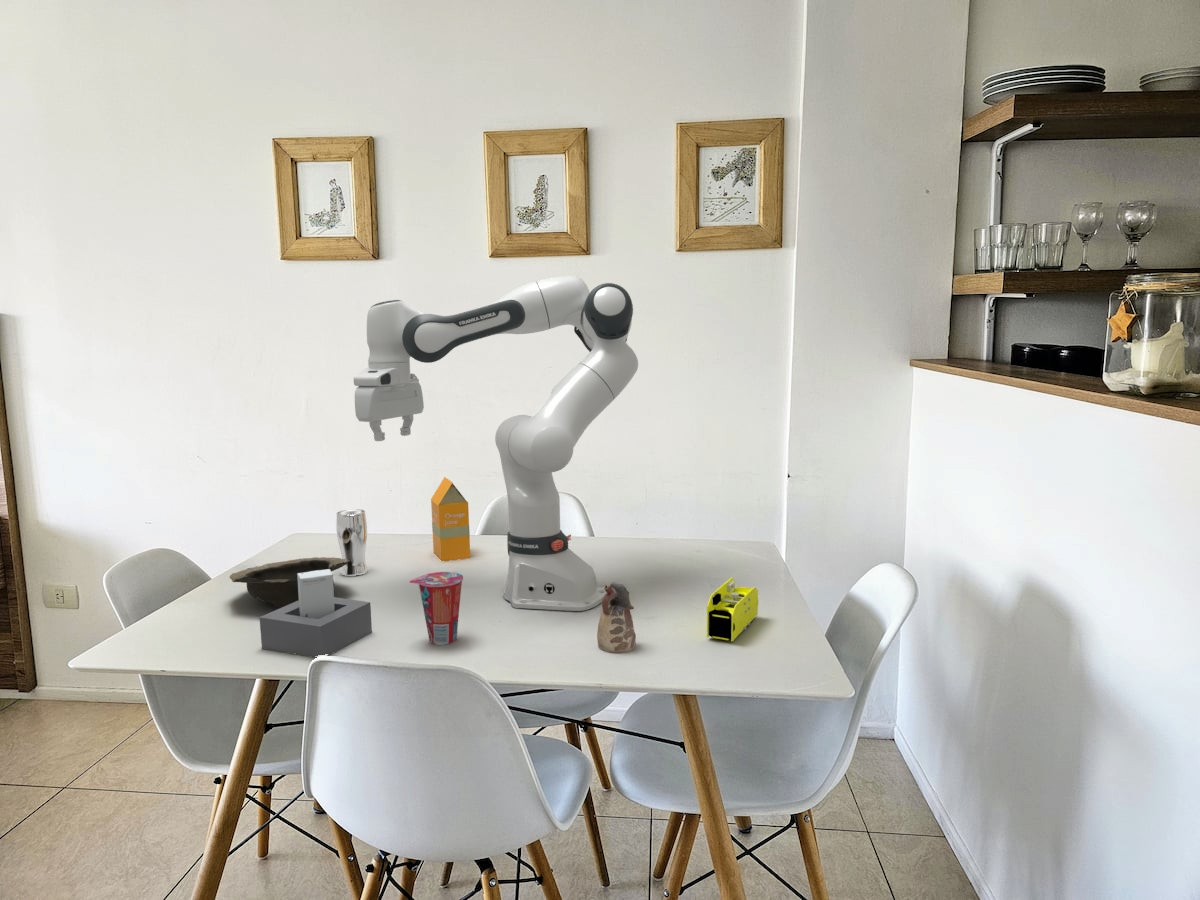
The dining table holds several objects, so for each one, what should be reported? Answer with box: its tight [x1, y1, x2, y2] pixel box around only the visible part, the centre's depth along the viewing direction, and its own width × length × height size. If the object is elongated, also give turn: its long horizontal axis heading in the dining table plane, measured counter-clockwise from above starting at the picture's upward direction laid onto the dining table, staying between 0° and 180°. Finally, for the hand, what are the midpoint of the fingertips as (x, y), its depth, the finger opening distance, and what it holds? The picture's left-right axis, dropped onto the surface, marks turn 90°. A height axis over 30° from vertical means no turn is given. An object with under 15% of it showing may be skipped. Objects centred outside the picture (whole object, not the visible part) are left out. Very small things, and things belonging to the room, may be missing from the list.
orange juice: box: [430, 476, 471, 562], centre depth 212 cm, size 8×9×20 cm
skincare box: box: [297, 569, 335, 619], centre depth 156 cm, size 6×4×12 cm
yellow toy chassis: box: [706, 576, 759, 642], centre depth 159 cm, size 16×6×8 cm, turn 153°
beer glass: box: [336, 508, 368, 577], centre depth 199 cm, size 7×7×15 cm
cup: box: [409, 571, 464, 646], centre depth 155 cm, size 9×8×12 cm
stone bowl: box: [228, 556, 352, 611], centre depth 182 cm, size 25×25×9 cm
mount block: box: [259, 596, 373, 658], centre depth 157 cm, size 14×14×6 cm
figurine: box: [596, 581, 637, 654], centre depth 151 cm, size 7×7×12 cm
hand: (393, 438), depth 184 cm, fingers open, 8 cm apart
